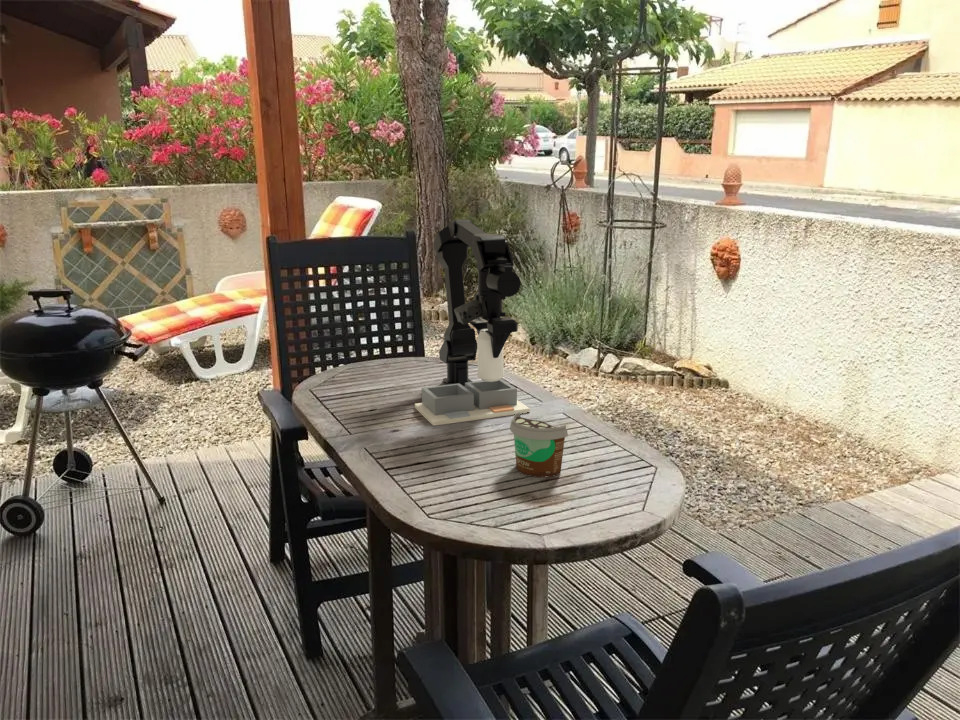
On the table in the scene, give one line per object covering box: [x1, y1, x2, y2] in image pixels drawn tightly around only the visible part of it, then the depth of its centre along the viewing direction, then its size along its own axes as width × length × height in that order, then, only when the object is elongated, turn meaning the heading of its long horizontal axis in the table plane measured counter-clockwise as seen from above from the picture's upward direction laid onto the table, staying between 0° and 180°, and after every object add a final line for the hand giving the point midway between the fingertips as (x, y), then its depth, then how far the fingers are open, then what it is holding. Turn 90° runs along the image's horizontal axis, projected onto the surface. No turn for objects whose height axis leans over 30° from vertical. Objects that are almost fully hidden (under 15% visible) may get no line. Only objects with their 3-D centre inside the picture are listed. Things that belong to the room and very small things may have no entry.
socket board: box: [414, 378, 531, 426], centre depth 183 cm, size 14×24×5 cm, turn 112°
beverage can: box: [476, 329, 504, 382], centre depth 184 cm, size 6×6×12 cm
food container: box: [509, 412, 569, 478], centre depth 146 cm, size 12×6×10 cm, turn 47°
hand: (490, 354), depth 184 cm, fingers closed on beverage can, 6 cm apart
